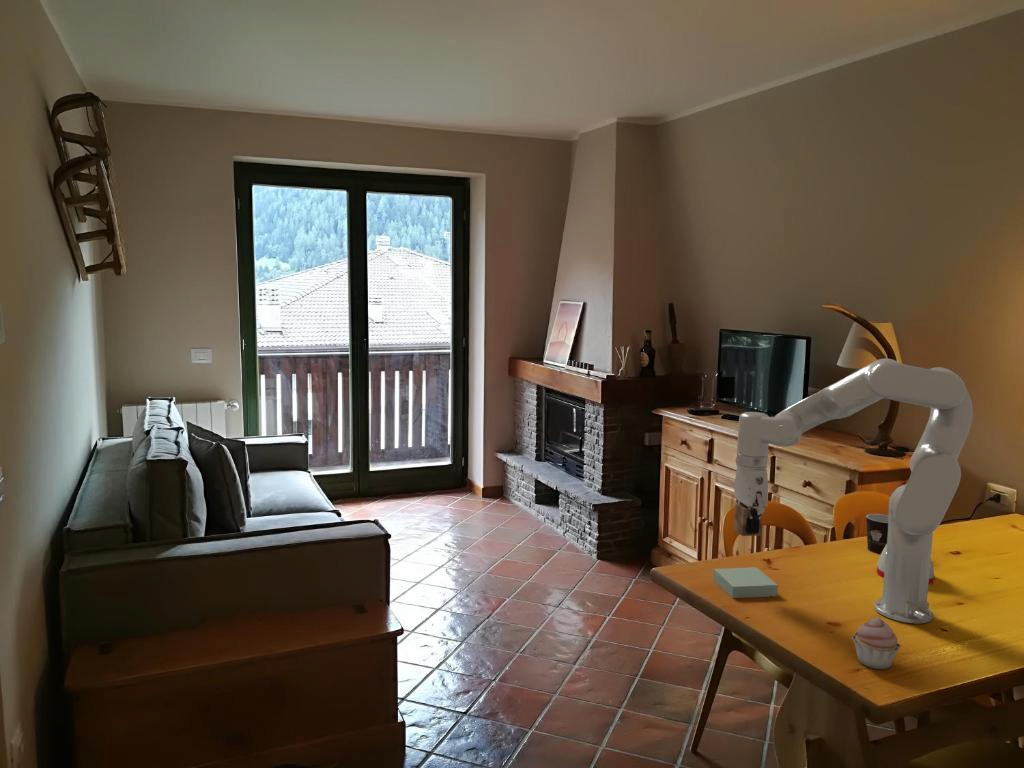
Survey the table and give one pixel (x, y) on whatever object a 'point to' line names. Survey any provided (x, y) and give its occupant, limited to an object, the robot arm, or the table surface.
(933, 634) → the table surface
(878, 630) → the cupcake
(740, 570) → the plate
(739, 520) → the walnut block
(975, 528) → the table surface
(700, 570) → the table surface
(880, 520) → the coffee mug
